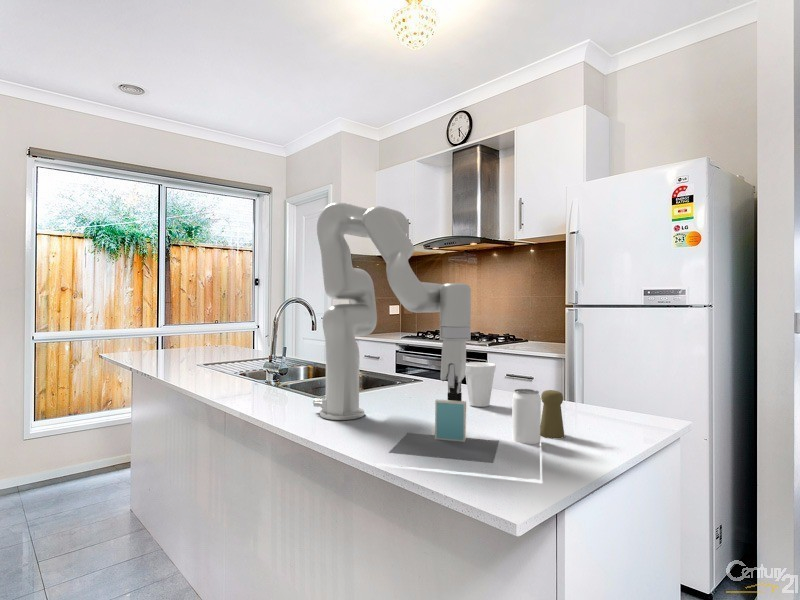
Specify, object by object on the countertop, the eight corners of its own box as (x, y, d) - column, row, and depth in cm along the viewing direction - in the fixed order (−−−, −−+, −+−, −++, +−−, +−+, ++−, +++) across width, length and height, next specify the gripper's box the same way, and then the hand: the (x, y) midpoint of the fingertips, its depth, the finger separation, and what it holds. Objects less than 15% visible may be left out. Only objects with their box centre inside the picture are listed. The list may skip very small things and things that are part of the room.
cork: (551, 439, 117) (552, 393, 117) (533, 433, 122) (534, 389, 122) (570, 436, 120) (570, 391, 120) (551, 430, 125) (552, 387, 125)
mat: (388, 455, 104) (388, 452, 104) (407, 435, 120) (407, 432, 120) (493, 465, 98) (493, 462, 98) (499, 443, 114) (499, 440, 114)
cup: (475, 400, 161) (475, 361, 161) (501, 405, 154) (502, 364, 154) (456, 405, 153) (457, 363, 153) (483, 410, 146) (483, 367, 146)
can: (535, 447, 110) (536, 394, 110) (508, 443, 114) (508, 391, 114) (543, 440, 116) (544, 390, 116) (517, 436, 119) (517, 387, 119)
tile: (434, 439, 114) (435, 400, 114) (436, 437, 116) (436, 399, 116) (464, 441, 112) (465, 402, 112) (465, 439, 114) (466, 401, 114)
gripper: (445, 331, 127) (444, 402, 127) (433, 335, 113) (433, 415, 113) (474, 332, 125) (473, 403, 125) (466, 336, 111) (465, 417, 111)
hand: (454, 408), depth 119 cm, fingers closed
